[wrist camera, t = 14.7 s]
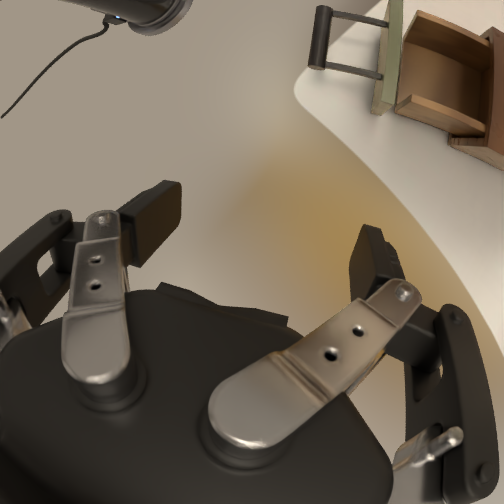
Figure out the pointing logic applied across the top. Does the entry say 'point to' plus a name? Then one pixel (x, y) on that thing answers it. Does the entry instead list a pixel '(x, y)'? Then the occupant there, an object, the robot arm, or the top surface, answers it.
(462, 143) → the cabinet
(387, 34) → the drawer
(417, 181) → the top surface
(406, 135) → the top surface
